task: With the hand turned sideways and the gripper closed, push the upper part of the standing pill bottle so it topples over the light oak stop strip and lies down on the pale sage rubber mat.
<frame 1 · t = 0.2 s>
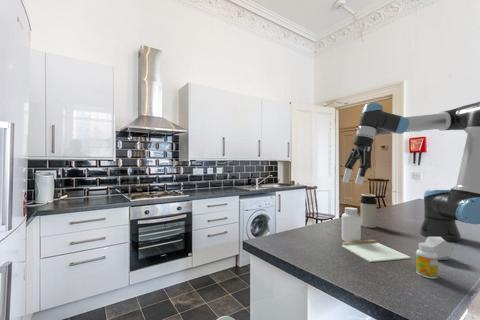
hand: (351, 183, 102), 27 cm above the counter, tool tilted 15°, fingers open, 13 cm apart
travel mug: (368, 226, 131), on the counter
stop strip: (359, 242, 101), on the counter
pill bottle: (351, 241, 106), on the counter
supplement bottle: (426, 275, 73), on the counter
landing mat: (374, 252, 92), on the counter
die: (437, 258, 87), on the counter
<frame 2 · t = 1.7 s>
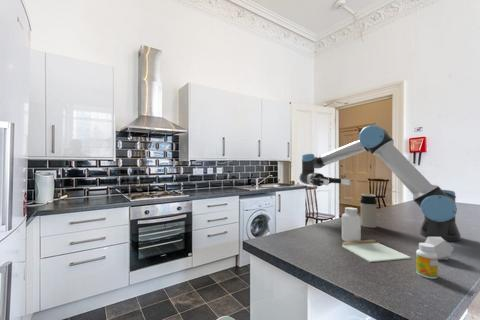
hand: (338, 182, 115), 26 cm above the counter, tool horizontal, fingers open, 12 cm apart
nothing on the counter moved.
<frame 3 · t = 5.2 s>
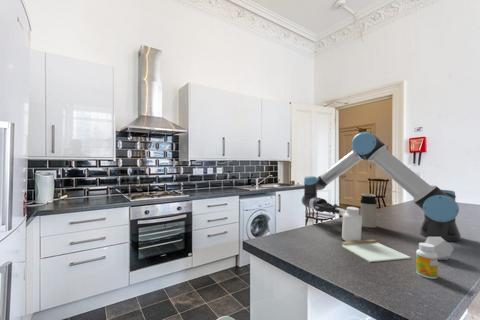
hand: (345, 213, 109), 12 cm above the counter, tool horizontal, fingers closed
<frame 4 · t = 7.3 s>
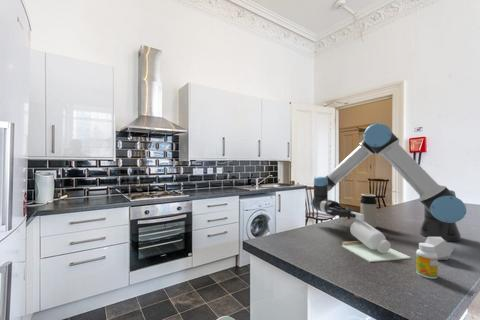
hand: (362, 217, 98), 12 cm above the counter, tool horizontal, fingers closed
pill bottle: (356, 227, 102), point 7 cm above the counter, touching gripper, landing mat
everything else where it was.
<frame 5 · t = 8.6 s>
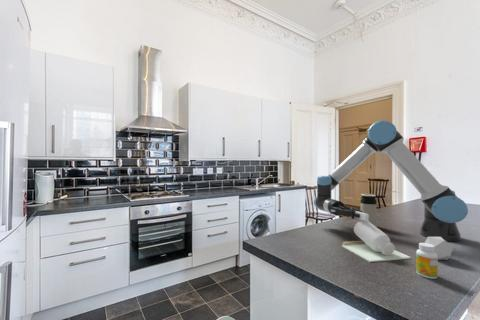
hand: (367, 217, 96), 13 cm above the counter, tool horizontal, fingers closed
pill bottle: (360, 226, 100), point 8 cm above the counter, touching gripper, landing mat
everything else where it was.
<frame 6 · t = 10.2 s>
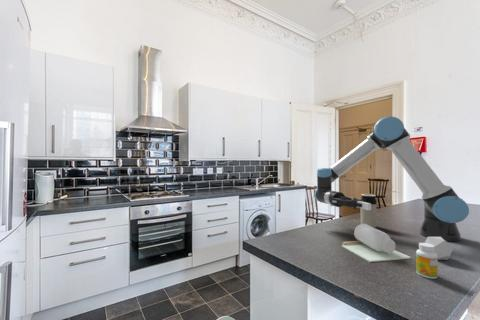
hand: (369, 206, 95), 18 cm above the counter, tool horizontal, fingers closed
pill bottle: (360, 231, 102), point 6 cm above the counter, touching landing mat, stop strip
everything else where it was.
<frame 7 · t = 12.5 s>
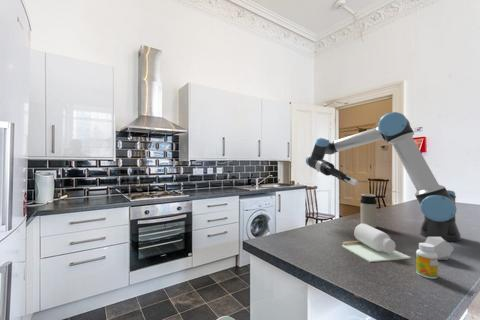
hand: (355, 183, 113), 26 cm above the counter, tool tilted 70°, fingers closed
nothing on the counter moved.
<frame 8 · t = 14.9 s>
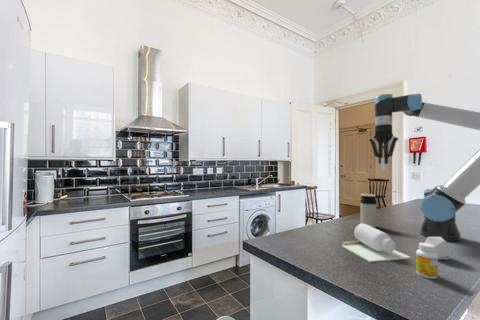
hand: (383, 170, 118), 32 cm above the counter, tool pointing down, fingers closed
nothing on the counter moved.
at the end: pill bottle tilted 96°; pill bottle touching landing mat, stop strip; pill bottle inside the target area (2.0 cm from its centre), point 5.5 cm above the counter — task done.
